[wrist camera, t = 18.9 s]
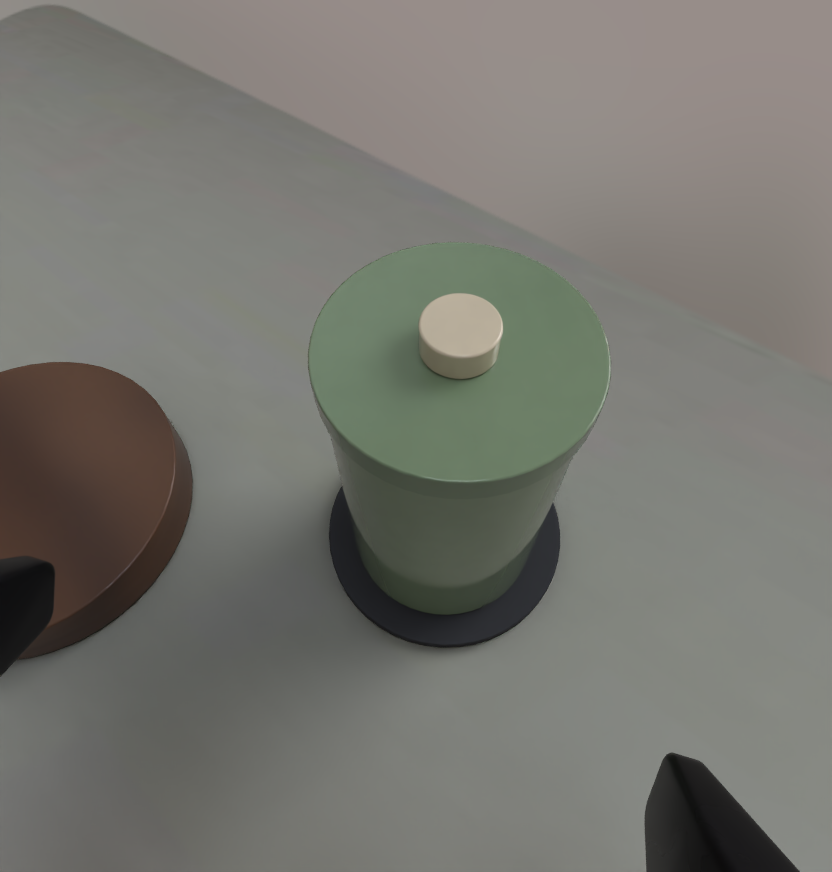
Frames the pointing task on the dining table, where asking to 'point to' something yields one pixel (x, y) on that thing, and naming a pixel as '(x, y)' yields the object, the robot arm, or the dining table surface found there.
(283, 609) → the dining table surface
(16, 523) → the platform
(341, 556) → the coaster
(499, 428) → the canister
